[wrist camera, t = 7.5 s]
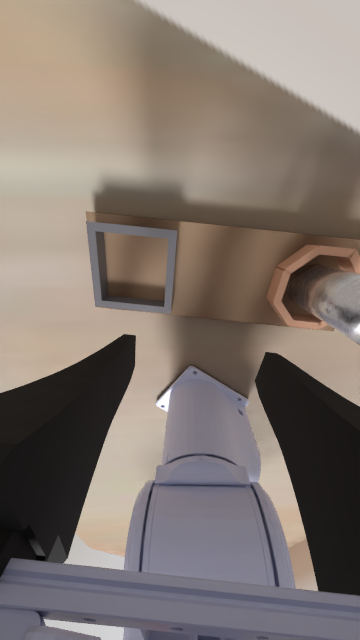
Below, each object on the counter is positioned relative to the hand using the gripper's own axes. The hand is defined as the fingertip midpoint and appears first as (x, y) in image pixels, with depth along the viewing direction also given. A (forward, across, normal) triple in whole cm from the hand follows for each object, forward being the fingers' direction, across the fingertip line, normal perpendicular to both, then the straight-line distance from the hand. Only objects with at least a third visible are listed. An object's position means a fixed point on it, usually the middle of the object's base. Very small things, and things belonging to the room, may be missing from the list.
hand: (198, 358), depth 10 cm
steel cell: (+8, -10, -3) cm, 13 cm away
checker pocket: (+8, +5, -3) cm, 10 cm away
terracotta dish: (+8, -10, -3) cm, 13 cm away
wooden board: (+9, -2, -3) cm, 10 cm away
